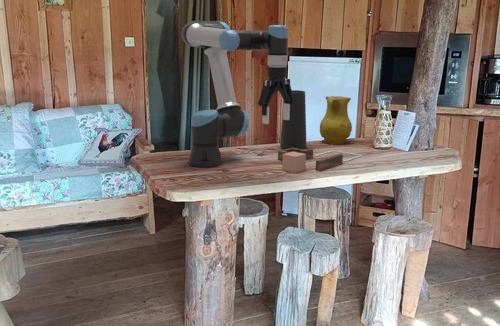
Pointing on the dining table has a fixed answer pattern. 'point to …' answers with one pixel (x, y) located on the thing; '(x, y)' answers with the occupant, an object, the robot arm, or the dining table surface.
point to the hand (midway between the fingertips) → (276, 121)
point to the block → (294, 162)
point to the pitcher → (336, 121)
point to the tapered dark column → (295, 123)
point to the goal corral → (341, 152)
